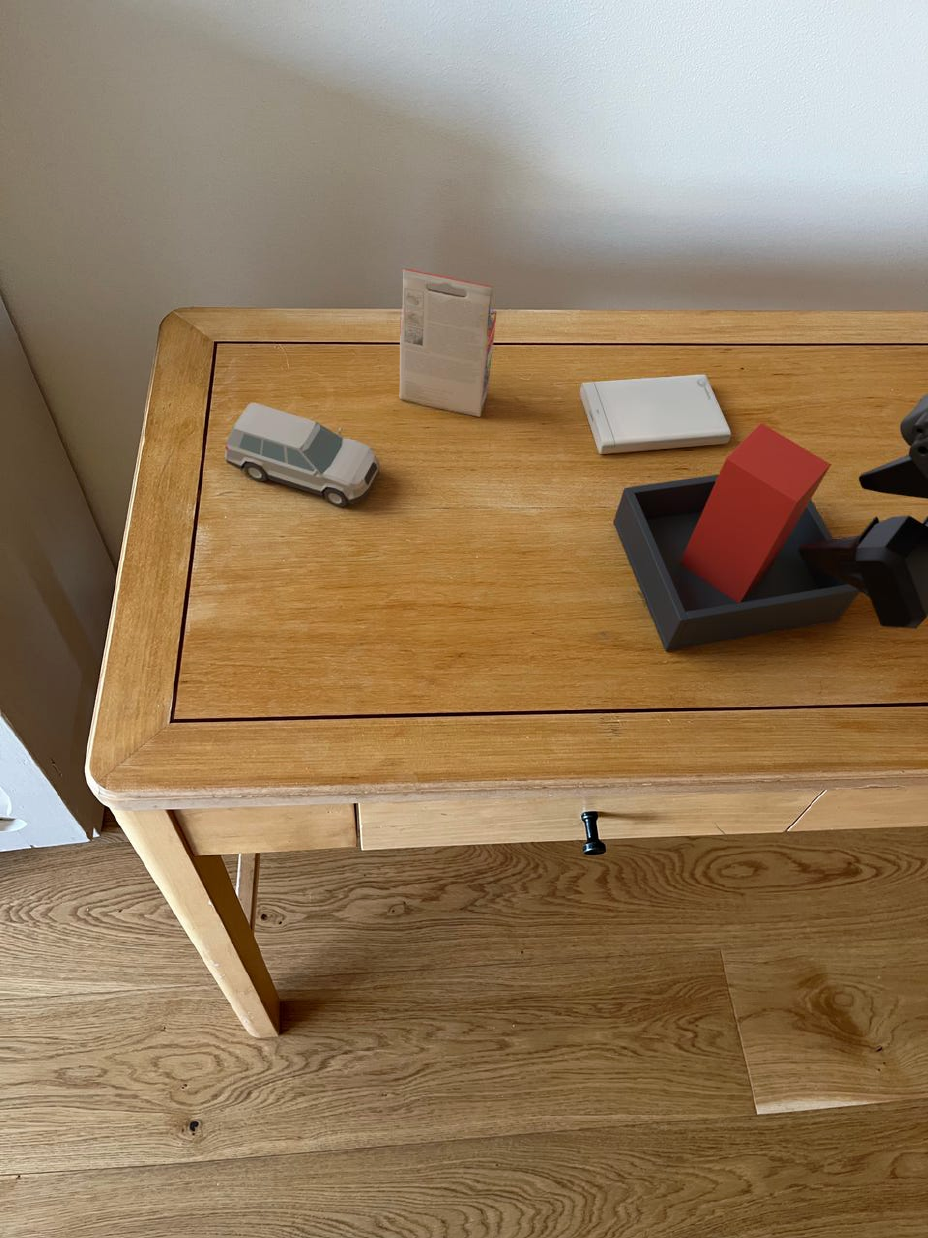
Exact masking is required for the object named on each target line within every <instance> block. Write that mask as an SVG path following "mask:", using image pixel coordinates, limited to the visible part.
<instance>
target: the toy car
mask: <svg viewBox="0 0 928 1238" xmlns="http://www.w3.org/2000/svg"><path fill="white" fill-rule="evenodd" d="M224 459H225V461H226V464H229V465H230V466H232V467H234V468H236V469H237V470H239V471H243V470H244V472H245V474H246V475H247V476H248V477H249V478H250V479H252V480H254V481H256V482H264V481H267V480H270V481H273V482H276V483H280V484H283V485H286V486H289V487H292V488H295V489H298V490H301V491H305V492H307V493H311V494H314V495H317V496H320V497H322V496H324V498H325V500H326V501H327V502H328V503H329V504H331V505H333V506H335V507H340V508H341V507H345V506H347V505H348V504H352V505H355V504H357V503H358V502H360V501H362V500H364V498H365V497H366V496H367V495H368V494H369V492H370V491H371V488H372V486H373V485H374V483H375V481H376V479H377V477H378V475H379V473H380V461H379V458H378V457H377V455H376V453H375V451H374V449H373V448H372V447H371V446H369V445H368V444H365V443H364V442H360V441H358V440H355V439H352V438H343V437H342V427H340V426H339V428H338V434H337V433H335V432H334V431H332V430H330V429H329V428H327V427H325V426H324V425H322V424H320V423H319V422H317V421H315V420H312V419H309V418H306V417H302V416H298V415H297V414H296V415H295V414H292V413H289V412H286V411H284V410H283V411H282V410H280V409H276V408H274V407H270V406H266V405H263V404H260V403H257V402H254V401H252V402H250V403H249V404H247V406H246V407H245V409H244V410H243V411H242V413H241V414H240V416H239V417H238V419H237V420H236V422H235V423H234V425H233V428H232V430H231V432H230V434H229V436H228V439H227V441H226V444H225V450H224Z"/></svg>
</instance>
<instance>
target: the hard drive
mask: <svg viewBox="0 0 928 1238" xmlns="http://www.w3.org/2000/svg"><path fill="white" fill-rule="evenodd" d="M579 396H580V400H581V402H582V406H583V409H584V413H585V415H586V417H587V421H588V424H589V428H590V429H591V433H592V436H593V440H594V442H595V446H596V449H597V452H598V453H599V454H600V455H605V454H618V453H631V452H643V451H654V450H656V451H657V450H666V449H667V450H668V449H678V448H690V447H702V446H715V445H727V444H728V443H729V441H730V440H731V437H732V432H731V429H730V427H729V424H728V423H727V420H726V417H725V416H724V413H723V411H722V408H721V406H720V404H719V402H718V400H717V397H716V395H715V393H714V391H713V389H712V386H711V384H710V381H709V379H708V377H707V375H706V374H705V373H704V374H689V375H677V376H675V375H674V376H663V377H660V376H659V377H645V378H634V379H633V378H632V379H619V380H617V379H616V380H605V381H604V380H603V381H594V382H593V381H591V382H582V383H581V385H580V389H579Z"/></svg>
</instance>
